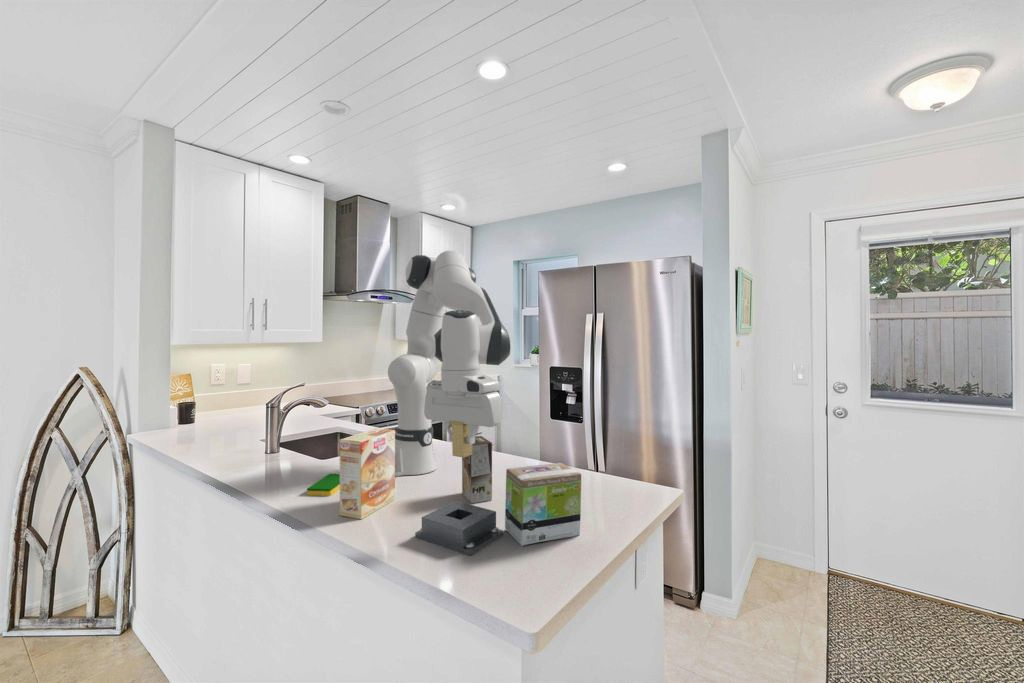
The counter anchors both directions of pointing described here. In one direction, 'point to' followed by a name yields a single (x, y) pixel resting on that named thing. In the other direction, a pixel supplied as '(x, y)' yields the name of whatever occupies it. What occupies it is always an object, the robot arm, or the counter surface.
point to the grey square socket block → (460, 527)
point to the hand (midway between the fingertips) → (462, 442)
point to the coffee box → (478, 472)
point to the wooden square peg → (460, 439)
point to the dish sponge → (325, 486)
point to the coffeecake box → (367, 472)
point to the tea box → (542, 503)
